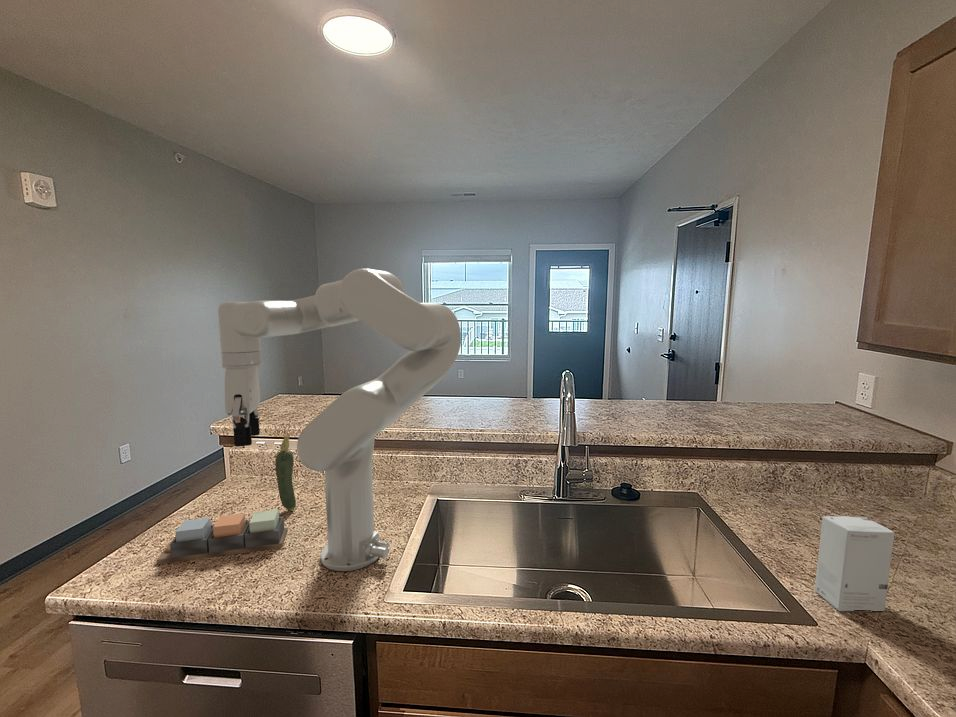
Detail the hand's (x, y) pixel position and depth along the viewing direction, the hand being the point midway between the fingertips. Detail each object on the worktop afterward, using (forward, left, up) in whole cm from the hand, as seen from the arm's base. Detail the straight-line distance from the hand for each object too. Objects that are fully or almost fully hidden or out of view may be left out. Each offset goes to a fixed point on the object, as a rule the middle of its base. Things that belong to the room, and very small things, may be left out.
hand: (247, 439), depth 95 cm
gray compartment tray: (+3, +4, -24) cm, 24 cm away
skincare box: (-117, -21, -24) cm, 121 cm away
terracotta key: (+3, +4, -21) cm, 22 cm away
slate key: (+9, +8, -21) cm, 24 cm away
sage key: (-3, -1, -21) cm, 22 cm away
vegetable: (+4, -14, -24) cm, 28 cm away
